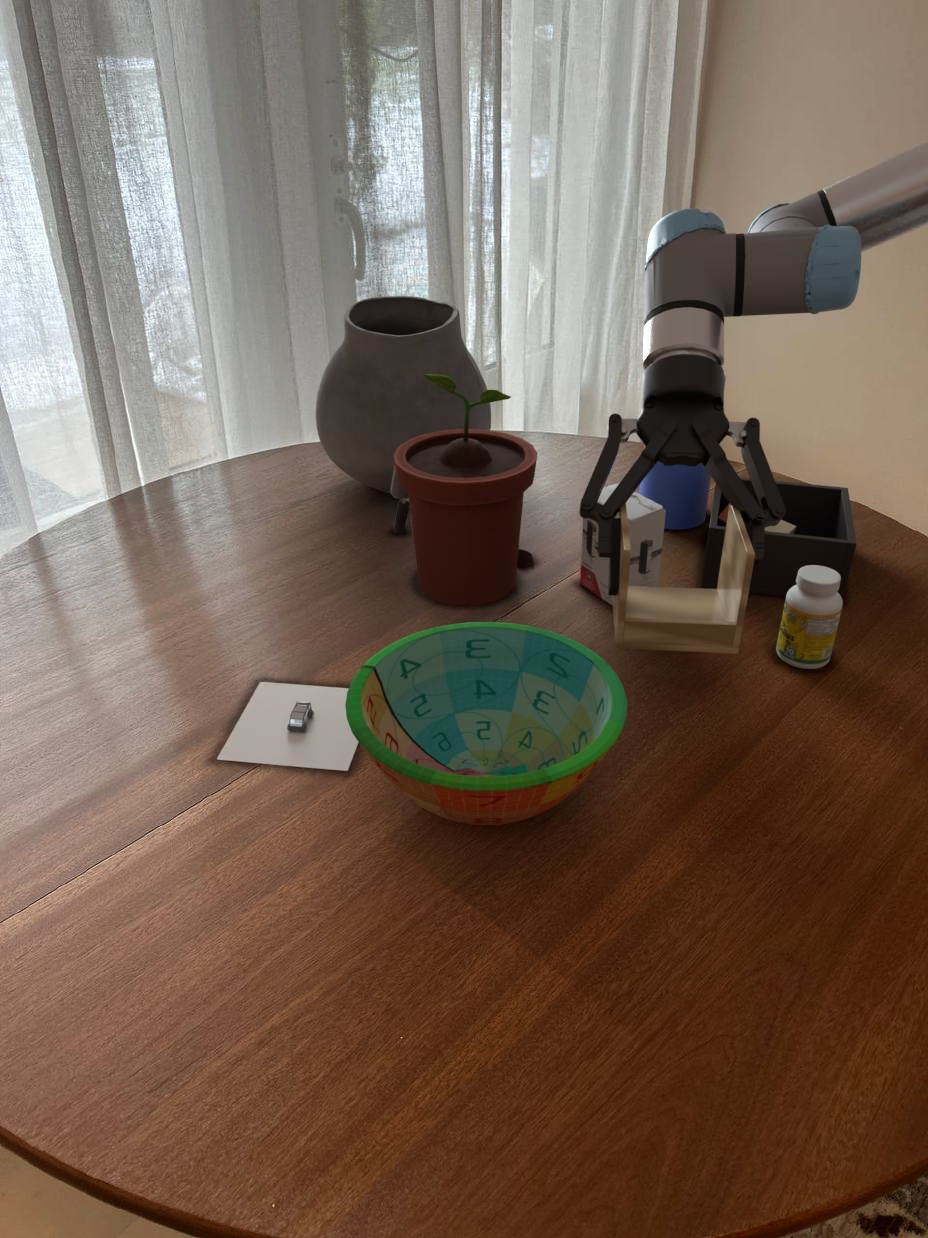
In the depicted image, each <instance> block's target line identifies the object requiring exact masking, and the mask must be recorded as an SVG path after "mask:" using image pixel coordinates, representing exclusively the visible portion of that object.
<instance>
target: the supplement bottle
mask: <svg viewBox="0 0 928 1238" xmlns="http://www.w3.org/2000/svg"><path fill="white" fill-rule="evenodd" d="M840 581H841V576H840V574H839V573H838V572H836V571H835V570H833V569H831V568H828V567H824V566H819V565H808V566H804V567H802V568H800V569H799V571H798V574H797V578H796V583H797V585H795V586H793V587H792V588H790V589H789V591H788V592H787V595H786V597H785V600H784V605H783V611H782V614H781V615H782V616H781V621H780V626H779V630H778V637H777V640H776V646H775V651H776V654H777V656H778V657H779V659H781V661H783V662H784V663H785V664H788V665H790V666H792V667H794V668H798V669H803V670H817V669H821V668H823V667H825V666H826V665H828V663H829V662H830V660H831V659H832V658H831V657H832V652H833V649H834V647H835V646H834V645H835V641H836V636H837V632H838V627H839V623H840V618H841V614H842V612H843V611H842V610H843V604H844V600H843V601H842V598H841V596H840V594H839V593H838V592H837V591H838V590H839V587H840Z"/></svg>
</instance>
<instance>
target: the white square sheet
mask: <svg viewBox="0 0 928 1238" xmlns="http://www.w3.org/2000/svg"><path fill="white" fill-rule="evenodd" d="M348 689H349V687H336V686H321V685H309V684H308V685H307V684H295V683H283V682H282V683H281V682H269V681H259V684H258V685H257V687H256V689H255V690H254V692H253V694H252V696H251V697H250V699H249V701H248V703H247V705H246V706H245V708H244V710H243V712H242V714H241V715H240V717H239V719H238V720H237V722H236V723H235V726H234V728H233V729H232V731H231V733H230V735H229V736H228V738H227V740H226V742H225V743H224V746H223V747H222V749H221V751H220V753H219V754H218V756H217V758H216V760H217V761H230V762H241V763H250V764H262V765H263V764H264V765H275V766H285V767H298V768H308V769H320V770H332V771H342V772H343V771H344V772H348V771H349V768H350V766H351V763H352V762H353V759H354V755H355V752H356V751H357V747H358V745H359V742H358V740H357V739H356V738H355V736H354V735H353V733H352V731H351V728H350V726H349V723H348V720H347V715H346V706H345V704H346V698H347V692H348Z"/></svg>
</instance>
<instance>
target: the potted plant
mask: <svg viewBox="0 0 928 1238" xmlns="http://www.w3.org/2000/svg"><path fill="white" fill-rule="evenodd" d="M423 376H424V377H425V378H426V379H428V380H429V381H431V382H433V383H434V384H436V385H438V386H440V387H441V388H443V389H445V390H446V391H448V392H450V393H453V394H455V395H457V396H459V397H460V398H462V399H463V401H464V402H465V407H466V412H465V425H464V429H456V430H443V431H438V432H433V433H427V434H423V435H421V436H418V437H415V438H412V439H409V440H408V441H406V442H405V443H403V444H402V445H400V446H399V447H398V448H397V450H396V451H395V453H394V461H395V465H394V471H393V477H392V483H391V489H390V492H391V496H392V497H393V498H394V499H398V502H397V508H396V513H395V519H394V524H393V532H394V533H395V534H397V535H403V534H404V533H405V532H406V527H407V523H408V518H409V517H408V516H409V514H410V523H411V524H410V525H411V531H412V541H413V548H414V557H415V566H416V567H415V568H416V575H417V582H418V586H419V589H420V590H421V592H422V593H424V594H425V596H427V597H429V598H430V599H432V600H435V601H436V602H441V603H444V604H448V605H453V606H479V605H484V604H488V603H492V602H495V601H498V600H500V599H502V598H504V597H506V596H508V595H509V594H510V593H511V591H513V590H514V588H515V584H516V580H517V571H518V568H522V569H525V568H526V567H529V566H531V565H534V563H535V562H534V558H533V554H532V552H530V551H528V550H526V549H522V548H520V539H521V538H520V536H521V527H522V518H523V517H522V516H523V504H524V494H525V492H526V491H527V490H528V489H529V488H530V487H531V486H533V484H534V479H535V475H536V467H537V461H538V460H537V459H538V452H537V450H536V449H535V446H534V445H533V444H532V443H530V442H528V441H527V440H526V439H524V438H522V437H519V436H516V435H513V434H510V433H507V432H500V431H498V430H497V431H496V430H480V429H468V426H469V410H470V409H471V408H472V407H473V406H475V405H478V404H484V403H490V404H491V403H495V402H500V401H505V400H510V399H511V398H512V396H510V395H508V394H505V393H503V392H501V391H499V390H497V389H487V390H486V391H484V392H483V393H482V395H481V396H480V401H477V402H473V403H471V404H469V402H468V400H467V398H466V397H465V396H464V395H463V394H461V393H459V392H457V391H455V389H456V384H455V382H454V381H453V379H452V378H450V377H448V376H445V375H436V374H423Z"/></svg>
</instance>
